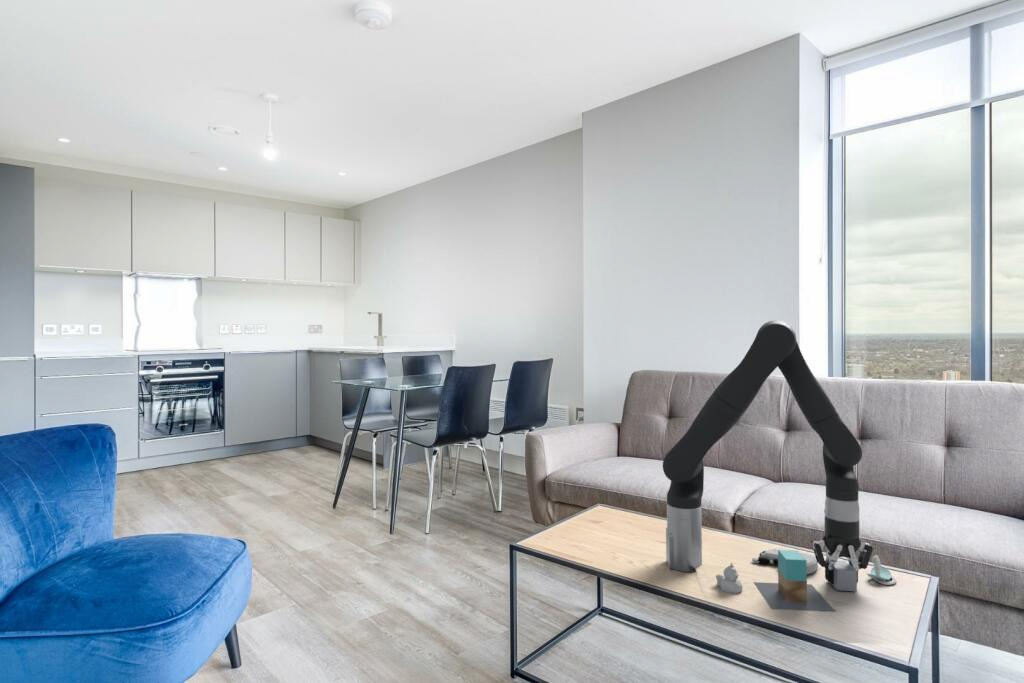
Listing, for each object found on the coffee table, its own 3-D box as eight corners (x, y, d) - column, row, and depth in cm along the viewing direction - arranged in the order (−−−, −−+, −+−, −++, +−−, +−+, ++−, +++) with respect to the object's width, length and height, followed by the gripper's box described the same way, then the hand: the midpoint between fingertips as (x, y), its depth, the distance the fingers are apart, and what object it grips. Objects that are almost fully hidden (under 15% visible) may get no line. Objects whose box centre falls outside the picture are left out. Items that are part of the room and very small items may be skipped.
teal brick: (786, 580, 133) (786, 559, 133) (778, 569, 139) (778, 549, 139) (806, 581, 132) (806, 560, 132) (797, 570, 138) (797, 550, 138)
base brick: (787, 601, 133) (786, 580, 133) (778, 590, 139) (778, 569, 139) (807, 602, 132) (806, 581, 132) (797, 590, 138) (797, 570, 138)
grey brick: (837, 590, 137) (837, 569, 137) (826, 579, 143) (826, 560, 143) (856, 591, 137) (856, 570, 137) (845, 580, 143) (845, 560, 143)
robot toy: (749, 570, 156) (805, 584, 144) (748, 554, 156) (804, 566, 144) (770, 559, 163) (825, 571, 152) (769, 543, 164) (824, 554, 152)
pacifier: (899, 580, 147) (872, 572, 151) (899, 556, 146) (873, 549, 151) (892, 589, 142) (865, 581, 146) (893, 565, 141) (865, 557, 146)
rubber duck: (736, 600, 136) (736, 568, 136) (711, 592, 141) (710, 560, 141) (746, 593, 140) (746, 561, 140) (721, 585, 145) (721, 554, 145)
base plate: (771, 613, 130) (771, 608, 130) (753, 586, 143) (753, 582, 143) (836, 616, 128) (836, 611, 128) (811, 589, 142) (811, 584, 142)
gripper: (817, 519, 137) (817, 589, 137) (880, 521, 135) (880, 592, 136) (805, 509, 144) (805, 575, 145) (864, 511, 143) (864, 578, 143)
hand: (841, 583), depth 140 cm, fingers closed on grey brick, 4 cm apart
